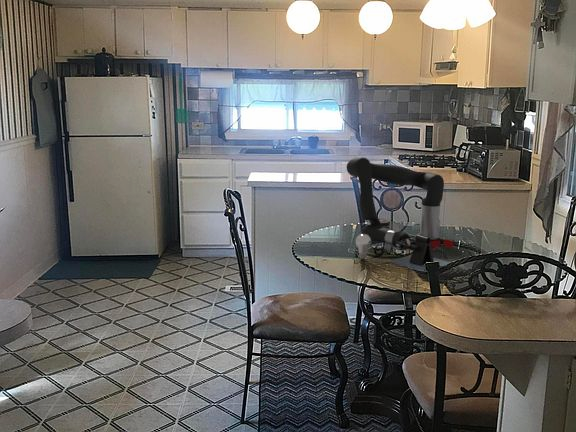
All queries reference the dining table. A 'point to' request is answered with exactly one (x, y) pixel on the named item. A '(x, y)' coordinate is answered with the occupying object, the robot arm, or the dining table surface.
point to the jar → (385, 223)
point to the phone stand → (422, 251)
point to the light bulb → (363, 245)
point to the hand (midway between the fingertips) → (424, 247)
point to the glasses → (446, 243)
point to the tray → (406, 263)
